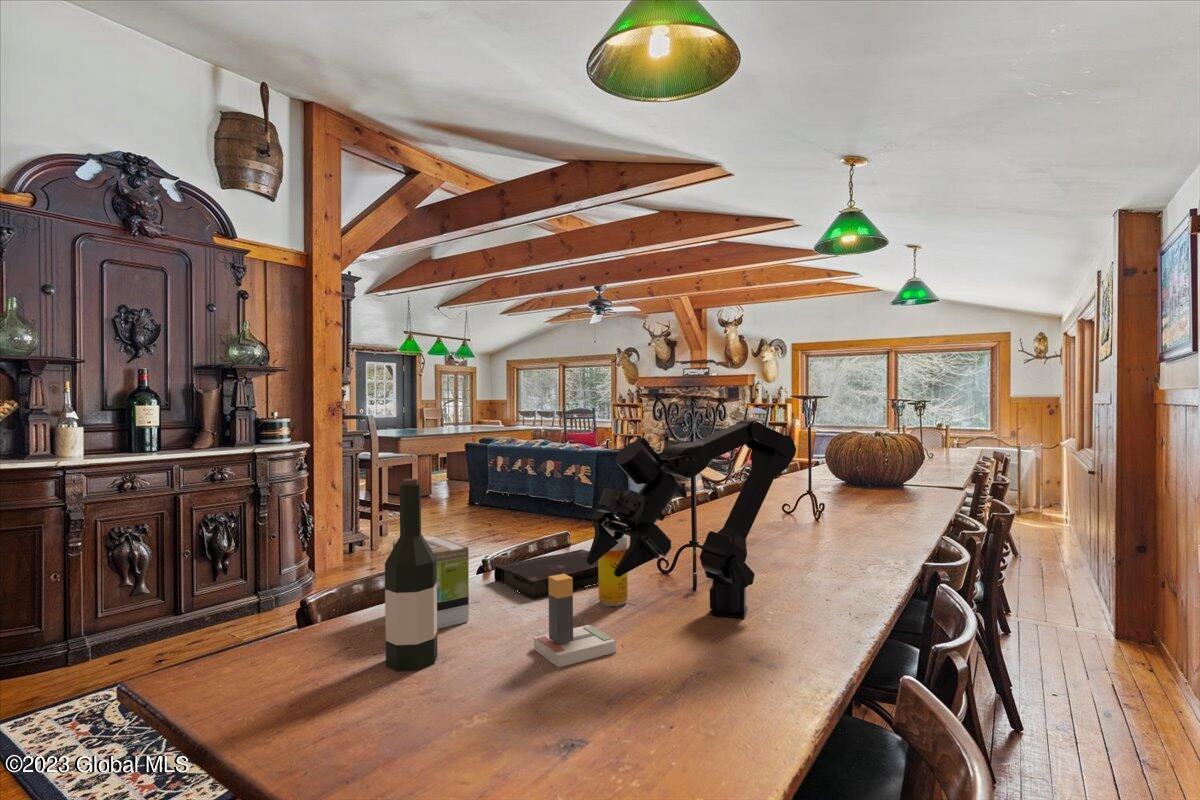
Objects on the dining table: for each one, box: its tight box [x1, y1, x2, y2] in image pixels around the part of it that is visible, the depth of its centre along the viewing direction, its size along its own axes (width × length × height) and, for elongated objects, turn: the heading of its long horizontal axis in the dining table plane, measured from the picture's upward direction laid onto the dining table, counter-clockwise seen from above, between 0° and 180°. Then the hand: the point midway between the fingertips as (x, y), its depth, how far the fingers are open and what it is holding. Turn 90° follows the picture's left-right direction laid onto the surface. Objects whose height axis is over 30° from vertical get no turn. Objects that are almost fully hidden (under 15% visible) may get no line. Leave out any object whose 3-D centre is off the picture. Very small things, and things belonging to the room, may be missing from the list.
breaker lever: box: [548, 574, 574, 644], centre depth 108 cm, size 3×3×10 cm
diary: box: [493, 549, 599, 600], centre depth 151 cm, size 19×25×5 cm
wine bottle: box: [384, 478, 438, 672], centre depth 106 cm, size 8×8×30 cm
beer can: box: [598, 534, 629, 607], centre depth 135 cm, size 6×6×15 cm
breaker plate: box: [533, 624, 617, 668], centre depth 109 cm, size 11×9×2 cm
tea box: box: [392, 535, 470, 630], centre depth 127 cm, size 15×10×15 cm, turn 39°
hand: (601, 569), depth 112 cm, fingers open, 9 cm apart
